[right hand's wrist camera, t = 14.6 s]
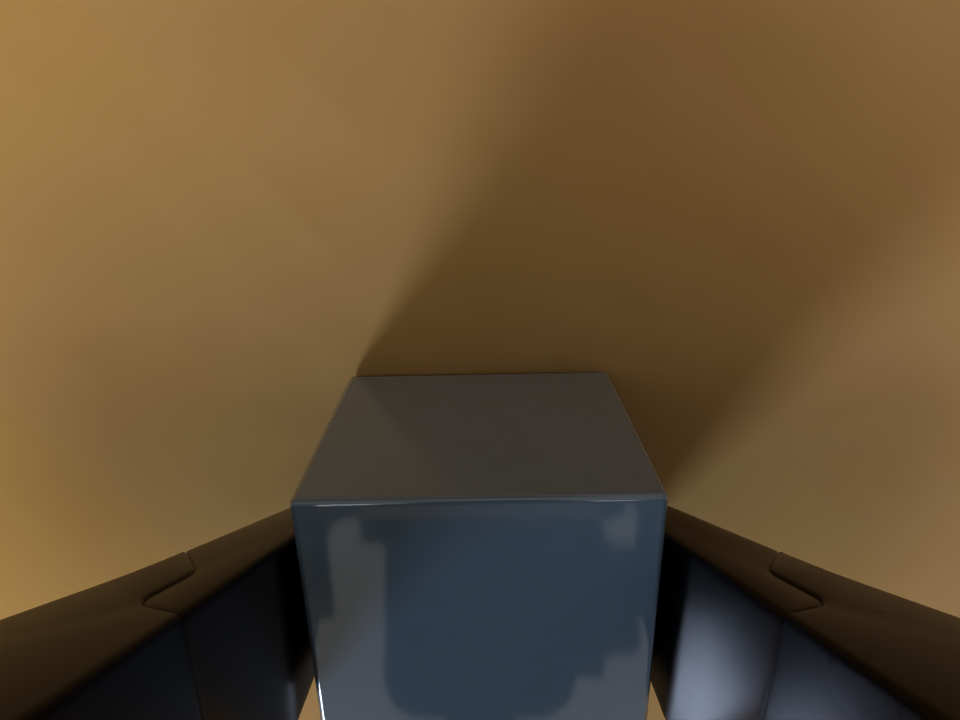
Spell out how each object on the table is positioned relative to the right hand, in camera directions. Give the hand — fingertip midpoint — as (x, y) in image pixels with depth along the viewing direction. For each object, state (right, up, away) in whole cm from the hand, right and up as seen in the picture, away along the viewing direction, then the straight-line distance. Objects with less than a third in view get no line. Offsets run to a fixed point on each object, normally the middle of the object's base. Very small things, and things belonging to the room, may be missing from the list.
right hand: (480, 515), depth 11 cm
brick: (0, 0, +1) cm, 1 cm away
